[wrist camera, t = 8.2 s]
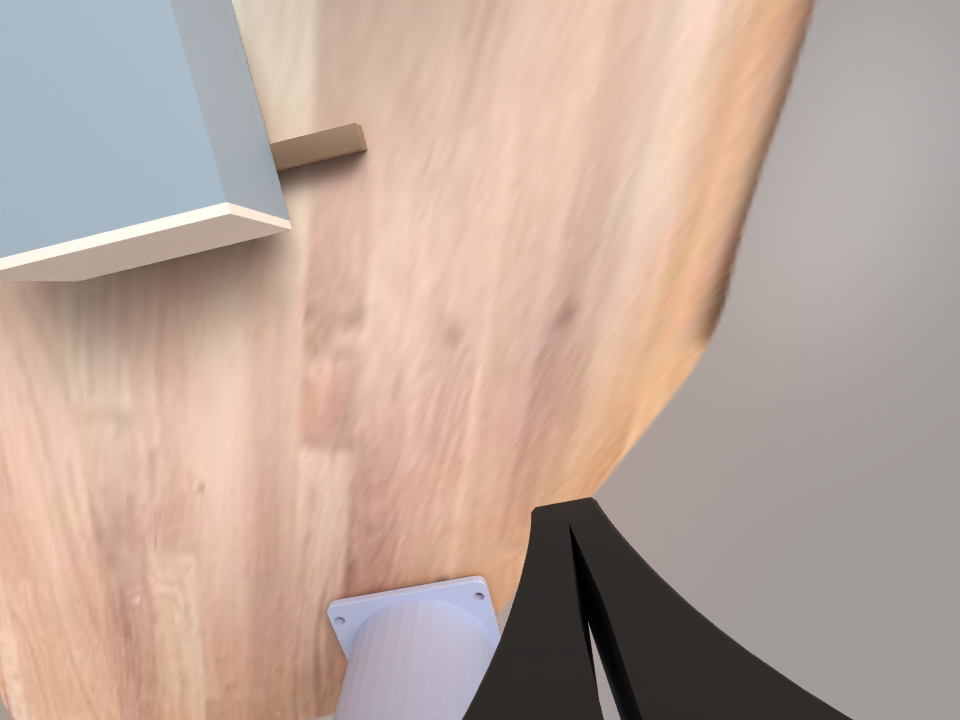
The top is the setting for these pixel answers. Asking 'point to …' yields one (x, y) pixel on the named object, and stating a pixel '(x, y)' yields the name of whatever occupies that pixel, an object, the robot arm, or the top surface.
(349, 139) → the batten
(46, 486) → the top surface
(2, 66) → the block
